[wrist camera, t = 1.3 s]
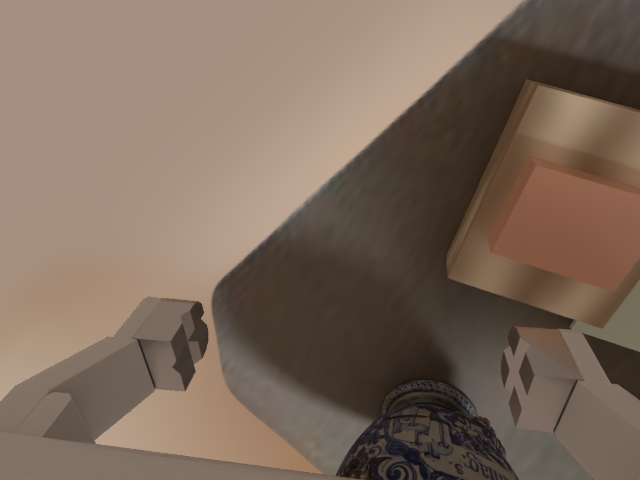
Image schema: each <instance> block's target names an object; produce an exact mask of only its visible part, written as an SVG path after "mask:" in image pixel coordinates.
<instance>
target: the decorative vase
mask: <svg viewBox="0 0 640 480" xmlns="http://www.w3.org/2000/svg"><path fill="white" fill-rule="evenodd" d="M382 415H383V416H381V417H380V418H378V419H377V420H376V421H374V422H373V423H372V424H371V425H370V426H369V427H368V428H367V429H366V430H365V431H364V432H363V433H362V434H361V435H360V437H359V438H358V439H357V440H356V442H355V443H354V444H353V446H352V447H351V449H350V450H349V452H348V453H347V455H346V457H345V458H344V460H343V462H342V464H341V466H340V467H339V469H338V471H337V474H336V476H339V477H346V478H354V479H361V480H519V479H518V477H517V476H516V474H515V472H514V471H513V469H512V468H511V466H510V465H509V463H508V462H507V460H506V452H505V449H504V447H503V446H502V445H501V442H500V440H499V439H498V438H497V437H496V434H495V431H494V430H493V429H492V427H491V426H490V422H489V420H488V419H486V418H482V417H481V416H478V415H477V411H476V408H475V407H474V405H473V404H472V402H471V401H470V400H469V399H468V398H467V397H466V396H465V395H464V394H463V393H461V392H460V391H459V390H457V389H455V388H453V387H451V386H450V385H448V384H445V383H442V382H438V381H433V380H413V381H408V382H405V383H402V384H400V385H399V386H397V387H395V388H394V389H392V390H391V391H390V392H389V393H388V394H387V395H386V397H385V399H384V402H383V406H382Z"/></svg>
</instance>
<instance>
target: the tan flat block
mask: <svg viewBox="0 0 640 480" xmlns="http://www.w3.org/2000/svg"><path fill="white" fill-rule="evenodd" d="M528 156H531V157H535V158H538V159H542V160H545V161H549V162H552V163H556V164H559V165H562V166H566V167H569V168H573V169H576V170H580V171H583V172H587V173H590V174H593V175H597V176H600V177H604V178H607V179H611V180H614V181H618V182H621V183H624V184H628V185H631V186H635V187H638V188H640V110H638V109H635V108H631V107H627V106H624V105H620V104H616V103H613V102H609V101H605V100H602V99H598V98H594V97H590V96H587V95H583V94H579V93H576V92H572V91H568V90H565V89H561V88H557V87H554V86H550V85H546V84H543V83H539V82H535V81H532V80H528V79H526V81H525V83H524V85H523V87H522V90H521V92H520V94H519V96H518V98H517V101H516V103H515V105H514V107H513V110H512V112H511V114H510V116H509V118H508V121H507V123H506V125H505V127H504V129H503V132H502V134H501V136H500V138H499V140H498V143H497V145H496V147H495V149H494V151H493V154H492V156H491V158H490V160H489V163H488V165H487V167H486V169H485V171H484V174H483V176H482V178H481V180H480V182H479V185H478V187H477V189H476V191H475V193H474V196H473V198H472V200H471V202H470V204H469V207H468V209H467V211H466V213H465V216H464V218H463V220H462V222H461V224H460V227H459V229H458V231H457V233H456V235H455V238H454V240H453V242H452V244H451V246H450V249H449V251H448V253H447V255H446V262H447V278H449V279H452V280H455V281H458V282H461V283H464V284H467V285H470V286H473V287H476V288H479V289H482V290H485V291H488V292H491V293H494V294H498V295H501V296H504V297H507V298H510V299H513V300H516V301H519V302H522V303H525V304H528V305H531V306H534V307H537V308H540V309H543V310H546V311H549V312H552V313H556V314H559V315H562V316H565V317H568V318H571V319H574V320H577V321H580V322H583V323H586V324H589V325H592V326H595V327H598V328H601V329H603V328H604V326H605V325H606V324H607V322H608V321H609V320H610V318H611V317H612V316H613V314H614V313H615V312H616V310H617V309H618V308H619V306H620V305H621V304H622V302H623V301H624V300H625V299H626V297H627V296H628V295H629V293H630V292H631V291H632V289H633V288H634V287H635V285H636V284H637V283H638V281H639V280H640V257H639V259H638V260H637V261H636V263H635V264H634V265H633V267H632V268H631V270H630V271H629V272H628V274H627V275H626V276H625V278H624V279H623V281H622V282H621V283H620V285H619V286H618V287H617V289H616V290H615V291H614V292H612V291H609V290H606V289H603V288H600V287H597V286H593V285H590V284H587V283H584V282H581V281H578V280H575V279H571V278H568V277H565V276H562V275H559V274H556V273H553V272H549V271H546V270H543V269H540V268H537V267H534V266H531V265H527V264H524V263H521V262H518V261H515V260H512V259H508V258H505V257H502V256H499V255H496V254H493V253H491V251H490V248H489V244H488V240H487V238H488V236H489V234H490V232H491V230H492V228H493V226H494V224H495V222H496V220H497V218H498V216H499V214H500V212H501V210H502V208H503V206H504V204H505V202H506V200H507V198H508V196H509V194H510V192H511V190H512V188H513V186H514V184H515V182H516V180H517V178H518V176H519V174H520V172H521V170H522V168H523V166H524V164H525V162H526V160H527V158H528Z"/></svg>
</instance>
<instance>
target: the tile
mask: <svg viewBox="0 0 640 480" xmlns="http://www.w3.org/2000/svg"><path fill="white" fill-rule="evenodd" d="M487 240H488V244H489V248H490V251H491V253H493V254H496V255H499V256H502V257H505V258H508V259H512V260H515V261H518V262H521V263H524V264H527V265H531V266H534V267H537V268H540V269H543V270H546V271H549V272H553V273H556V274H559V275H562V276H565V277H568V278H571V279H575V280H578V281H581V282H584V283H587V284H590V285H593V286H597V287H600V288H603V289H606V290H609V291H612V292H614V291H615V290H616V289H617V287H618V286H619V285H620V283H621V282H622V281H623V279H624V278H625V276H626V275H627V274H628V272H629V271H630V270H631V268H632V267H633V265H634V264H635V263H636V261H637V260H638V259H639V257H640V188H638V187H635V186H631V185H628V184H624V183H621V182H618V181H614V180H611V179H607V178H604V177H600V176H597V175H593V174H590V173H587V172H583V171H580V170H576V169H573V168H569V167H566V166H562V165H559V164H556V163H552V162H549V161H545V160H542V159H538V158H535V157H531V156H528V158H527V160H526V162H525V164H524V166H523V168H522V170H521V172H520V174H519V176H518V178H517V180H516V182H515V184H514V186H513V188H512V190H511V192H510V194H509V196H508V198H507V200H506V202H505V204H504V206H503V208H502V210H501V212H500V214H499V216H498V218H497V220H496V222H495V224H494V226H493V228H492V230H491V232H490V234H489V236H488V238H487Z"/></svg>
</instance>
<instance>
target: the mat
mask: <svg viewBox="0 0 640 480" xmlns="http://www.w3.org/2000/svg"><path fill="white" fill-rule="evenodd" d="M570 328H571V329H572V330H579V331H580V332H582V333H584V334H587V335H590V336H593V337H596V338H599V339H602V340H605V341H608V342H611V343H614V344H617V345H620V346H623V347H626V348H629V349H632V350H635V351H638V352H640V280H639V281H638V283H637V284H636V285H635V287H634V288H633V289H632V291H631V292H630V293H629V295H628V296H627V297H626V299H625V300H624V301H623V302H622V304H621V305H620V306H619V308H618V309H617V310H616V312H615V313H614V314H613V316H612V317H611V318H610V320H609V321H608V322H607V324H606V325H605V326H604V328H603V329H601V328H598V327H595V326H592V325H589V324H586V323H583V322H580V321H577V320H573V322H572V323H571V324H570Z"/></svg>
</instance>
